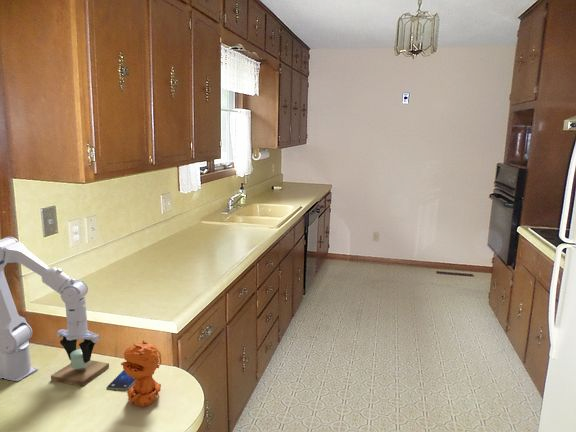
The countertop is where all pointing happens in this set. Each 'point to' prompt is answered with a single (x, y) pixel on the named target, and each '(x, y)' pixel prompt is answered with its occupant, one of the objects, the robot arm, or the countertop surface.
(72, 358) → the cap
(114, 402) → the countertop surface
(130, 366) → the toy dinosaur
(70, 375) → the stub block
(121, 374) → the smartphone
